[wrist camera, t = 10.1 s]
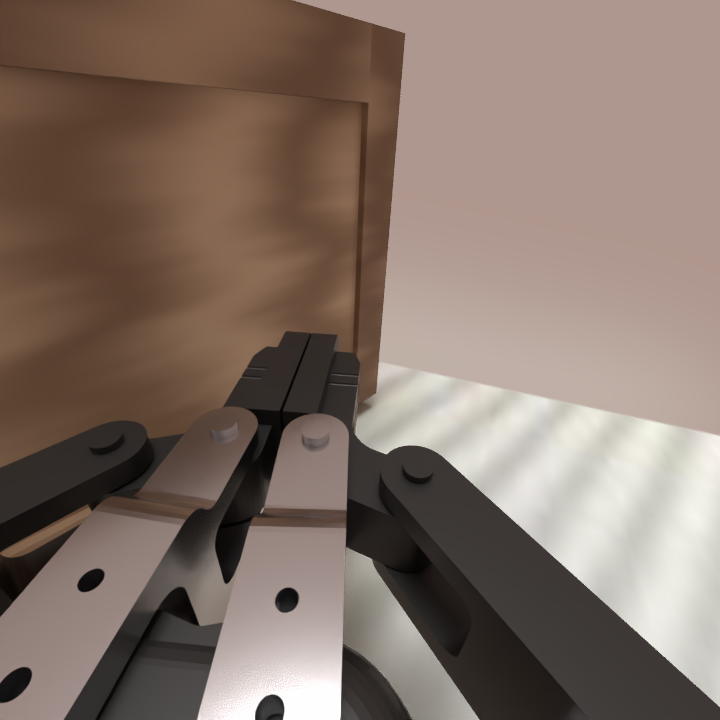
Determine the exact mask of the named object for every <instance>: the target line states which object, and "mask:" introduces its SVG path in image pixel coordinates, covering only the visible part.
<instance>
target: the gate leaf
mask: <svg viewBox="0 0 720 720" xmlns="http://www.w3.org/2000/svg"><path fill="white" fill-rule="evenodd" d="M404 40H405V33H402V32H398V31H395V30H392V29H389V28H385V27H382V26H378V25H375V24H372V23H368V22H365V21H361V20H358V19H354V18H351V17H347V16H344V15H341V14H337V13H334V12H331V11H327V10H324V9H320V8H317V7H313V6H310V5H307V4H303V3H300V2H296V1H293V0H0V468H1V467H3V466H5V465H8V464H10V463H12V462H15V461H17V460H19V459H22V458H24V457H26V456H29V455H31V454H33V453H36V452H38V451H40V450H43V449H45V448H47V447H50V446H52V445H54V444H57V443H59V442H61V441H64V440H66V439H68V438H71V437H73V436H75V435H78V434H80V433H82V432H85V431H87V430H89V429H92V428H94V427H96V426H99V425H102V424H105V423H108V422H113V421H121V420H127V421H134V422H137V423H139V424H141V425H143V426H144V427H145V429H146V431H147V434H148V437H149V439H151V438H158V437H165V436H172V435H178V434H183V433H186V431H187V430H188V429H189V427H190V426H191V425H192V424H193V422H194V421H195V420H196V419H198V418H199V417H200V416H202V415H203V414H205V413H207V412H209V411H211V410H214V409H217V408H222V407H223V406H224V404H225V402H226V401H227V399H228V397H229V396H230V394H231V392H232V391H233V389H234V387H235V386H236V384H237V382H238V381H239V379H240V378H242V374H243V372H244V371H245V369H246V368H247V366H248V364H249V362H250V361H251V359H252V357H253V356H254V355H255V354H256V353H258V352H259V351H261V350H262V349H264V348H265V347H266V346H269V347H278V345H279V343H280V341H281V339H282V337H283V335H284V333H285V332H286V331H293V332H307V333H312V334H313V333H321V334H335V335H338V336H339V352H350V353H355V355H356V356H357V358H358V360H359V362H360V380H359V399H358V404H359V403H360V402H362V401H364V400H365V399H367V398H369V397H370V396H372V395H374V394H375V393H376V387H377V375H378V362H379V349H380V338H381V325H382V313H383V301H384V300H383V299H384V288H385V276H386V262H387V250H388V239H389V225H390V213H391V201H392V188H393V177H394V164H395V152H396V139H397V127H398V115H399V102H400V89H401V78H402V65H403V53H404ZM91 512H92V511H91V509H90V508H89V506H88V504H87V505H86V506H84V507H82V508H80V509H78V510H76V511H74V512H73V513H71V514H69V515H67V516H65V517H63V518H62V519H60V520H58V521H56V522H54V523H52V524H50V525H49V526H47V527H45V528H43V529H41V530H39V531H38V532H36V533H34V534H32V535H30V536H28V537H26V538H25V539H23V540H21V541H19V542H17V543H15V544H14V545H12V546H10V547H8V548H6V549H5V550H3V551H2V552H0V554H1V555H2V556H5V557H10V558H13V557H19V556H23V555H25V554H28V553H30V552H32V551H34V550H35V549H37V548H39V547H41V546H42V545H44V544H46V543H48V542H49V541H51V540H53V539H55V538H57V537H58V536H60V535H62V534H64V533H65V532H67V531H69V530H71V529H72V528H74V527H76V526H78V525H79V524H81V523H83V521H84V520H85V519H86V518H87V517H88V516H89V515H90V513H91Z"/></svg>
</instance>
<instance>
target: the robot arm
mask: <svg viewBox="0 0 720 720" xmlns="http://www.w3.org/2000/svg"><path fill="white" fill-rule="evenodd" d="M359 380H360V362H359V360H358V358H357V356H356V355H355V353H350V352H339V336H338V335H335V334H321V333H313V334H312V333H307V332H293V331H286V332H285V333H284V335H283V337H282V339H281V341H280V343H279V345H278V347H269V346H266V347H265V348H264V349H262V350H261V351H259V352H258V353H256V354H255V355H254V356H253V357H252V359H251V361H250V362H249V364H248V366H247V368H246V369H245V371H244V372H243V374H242V378H240V379H239V381H238V382H237V384H236V386H235V387H234V389H233V391H232V392H231V394H230V396H229V397H228V399H227V401H226V402H225V404H224V406H223V407H222V408H217V409H214V410H211V411H209V412H207V413H205V414H203V415H202V416H200V417H199V418H198V419H196V420H195V421H194V422H193V424H192V425H191V426H190V427H189V429H188V430H187V431H186V433H183V434H178V435H172V436H165V437H158V438H151V439H149V437H148V434H147V431H146V429H145V427H144V426H143V425H141V424H139V423H137V422H134V421H127V420H121V421H113V422H108V423H105V424H102V425H99V426H96V427H94V428H92V429H89V430H87V431H85V432H82V433H80V434H78V435H75V436H73V437H71V438H68V439H66V440H64V441H61V442H59V443H57V444H54V445H52V446H50V447H47V448H45V449H43V450H40V451H38V452H36V453H33V454H31V455H29V456H26V457H24V458H22V459H19V460H17V461H15V462H12V463H10V464H8V465H5V466H3V467H1V468H0V552H2V551H3V550H5V549H6V548H8V547H10V546H12V545H14V544H15V543H17V542H19V541H21V540H23V539H25V538H26V537H28V536H30V535H32V534H34V533H36V532H38V531H39V530H41V529H43V528H45V527H47V526H49V525H50V524H52V523H54V522H56V521H58V520H60V519H62V518H63V517H65V516H67V515H69V514H71V513H73V512H74V511H76V510H78V509H80V508H82V507H84V506H86V505H87V504H88V506H89V508H90V509H91V511H92V512H91V513H90V515H89V516H88V517H87V518H86V519H85V520H84V521H83V523H81V524H79V525H78V526H76V527H74V528H72V529H71V530H69V531H67V532H65V533H64V534H62V535H60V536H58V537H57V538H55V539H53V540H51V541H49V542H48V543H46V544H44V545H42V546H41V547H39V548H37V549H35V550H34V551H32V552H30V553H28V554H25V555H23V556H19V557H13V558H10V557H5V556H2V555H1V554H0V720H412V718H411V717H410V715H409V713H408V711H407V709H406V707H405V706H404V704H403V702H402V701H401V699H400V697H399V696H398V694H397V693H396V692H395V690H394V689H393V687H392V686H391V685H390V683H389V682H388V681H387V679H386V678H385V677H384V676H383V675H382V674H381V673H380V672H379V671H378V670H377V668H376V667H375V666H374V665H372V664H371V663H370V662H369V661H368V660H367V659H365V658H364V657H363V656H362V655H360V654H359V653H357V652H356V651H354V650H353V649H351V648H350V647H348V646H346V645H344V644H343V614H344V582H345V549H346V547H347V548H349V549H352V550H354V551H356V552H358V553H360V554H363V555H365V556H367V557H369V558H371V559H372V561H373V564H374V567H375V568H376V570H377V572H378V573H379V575H380V576H381V578H382V579H383V581H384V582H385V583H386V585H387V586H388V588H389V589H390V591H391V592H392V594H393V595H394V596H395V598H396V599H397V601H398V602H399V604H400V605H401V607H402V608H403V610H404V611H405V612H406V614H407V615H408V617H409V618H410V620H411V621H412V623H413V624H414V625H415V627H416V628H417V630H418V631H419V633H420V634H421V636H422V637H423V638H424V640H425V641H426V643H427V644H428V646H429V647H430V649H431V650H432V651H433V653H434V654H435V656H436V657H437V659H438V660H439V662H440V663H441V664H442V666H443V667H444V669H445V670H446V672H447V673H448V675H449V676H450V677H451V679H452V680H453V682H454V683H455V685H456V686H457V688H458V689H459V690H460V692H461V693H462V695H463V696H464V698H465V699H466V701H467V702H468V703H469V705H470V706H471V708H472V709H473V711H474V712H475V714H476V715H477V716H478V718H479V719H480V720H720V707H719V706H718V705H717V704H716V703H714V702H713V701H712V700H711V699H710V698H709V697H708V696H707V695H706V694H705V693H703V692H702V691H701V690H700V689H699V688H698V687H697V686H696V685H695V684H693V683H692V682H691V681H690V680H689V679H688V678H687V677H686V676H685V675H683V674H682V673H681V672H680V671H679V670H678V669H677V668H676V667H675V666H674V665H672V664H671V663H670V662H669V661H668V660H667V659H666V658H665V657H664V656H662V655H661V654H660V653H659V652H658V651H657V650H656V649H655V648H654V647H652V646H651V645H650V644H649V643H648V642H647V641H646V640H645V639H644V638H643V637H641V636H640V635H639V634H638V633H637V632H636V631H635V630H634V629H633V628H631V627H630V626H629V625H628V624H627V623H626V622H625V621H624V620H623V619H621V618H620V617H619V616H618V615H617V614H616V613H615V612H614V611H613V610H612V609H610V608H609V607H608V606H607V605H606V604H605V603H604V602H603V601H602V600H600V599H599V598H598V597H597V596H596V595H595V594H594V593H593V592H592V591H590V590H589V589H588V588H587V587H586V586H585V585H584V584H583V583H582V582H581V581H579V580H578V579H577V578H576V577H575V576H574V575H573V574H572V573H571V572H569V571H568V570H567V569H566V568H565V567H564V566H563V565H562V564H561V563H559V562H558V561H557V560H556V559H555V558H554V557H553V556H552V555H551V554H550V553H548V552H547V551H546V550H545V549H544V548H543V547H542V546H541V545H540V544H538V543H537V542H536V541H535V540H534V539H533V538H532V537H531V536H530V535H528V534H527V533H526V532H525V531H524V530H523V529H522V528H521V527H520V526H519V525H517V524H516V523H515V522H514V521H513V520H512V519H511V518H510V517H509V516H507V515H506V514H505V513H504V512H503V511H502V510H501V509H500V508H499V507H497V506H496V505H495V504H494V503H493V502H492V501H491V500H490V499H489V498H487V497H486V496H485V495H484V494H483V493H482V492H481V491H480V490H479V489H478V488H476V487H475V486H474V485H473V484H472V483H471V482H470V481H469V480H468V479H466V478H465V477H464V476H463V475H462V474H461V473H460V472H459V471H458V470H456V469H455V468H454V467H453V466H452V465H451V464H450V463H449V462H448V461H447V460H445V459H444V458H443V457H442V456H441V455H439V454H438V453H436V452H434V451H433V450H430V449H428V448H425V447H420V446H403V447H399V448H396V449H394V450H392V451H390V452H389V453H388V454H387V455H386V454H383V453H380V452H377V451H375V450H373V449H370V448H369V447H367V446H365V445H364V444H363V443H361V442H360V440H359V439H358V438H357V437H356V435H355V427H356V418H357V411H358V399H359Z"/></svg>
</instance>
